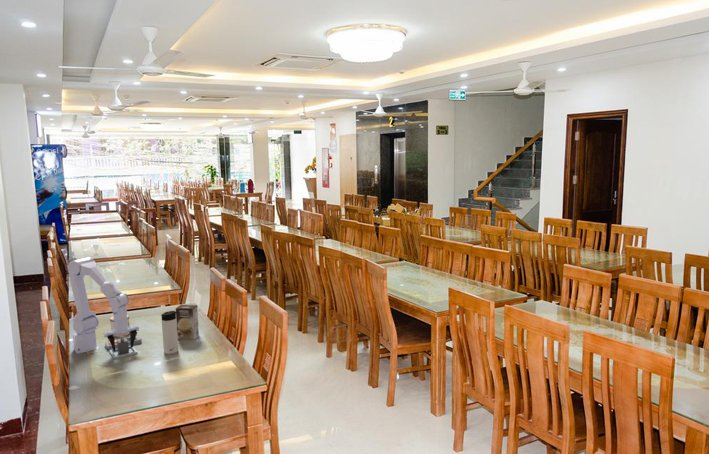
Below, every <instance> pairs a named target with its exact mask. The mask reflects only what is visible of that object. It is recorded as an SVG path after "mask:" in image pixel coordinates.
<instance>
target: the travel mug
mask: <svg viewBox="0 0 709 454" xmlns="http://www.w3.org/2000/svg"><path fill="white" fill-rule="evenodd" d="M161 328H162V332H161V333H162V342H163V354H164V355H167V356H171V355H175V354H179V343H178V341H179V339H178V338H177V322H176V310H170V311H166V312H163V313H162V314H161Z"/></svg>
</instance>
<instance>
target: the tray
mask: <svg viewBox="0 0 709 454" xmlns="http://www.w3.org/2000/svg"><path fill="white" fill-rule="evenodd" d="M108 352H109V354H110V356H111V357H112V358H113V359H114V360H116V359H120V358H125V357H130V356H133V355H138V354H139V353H138V350H137V349H136V348H135V347H134V346H133V347H131V346H129V353H127V354H122V355H119V354H118V348H117V349H115V351H113V350H108Z"/></svg>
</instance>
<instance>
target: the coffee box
mask: <svg viewBox="0 0 709 454" xmlns="http://www.w3.org/2000/svg"><path fill="white" fill-rule="evenodd" d="M175 311H176V324H177V338H178V340H195V339H197V338H198V337H199V336H200V331H199V315H198V314H199V311H198V305H196V304H180V305H178V306H177V307H176V308H175Z"/></svg>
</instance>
